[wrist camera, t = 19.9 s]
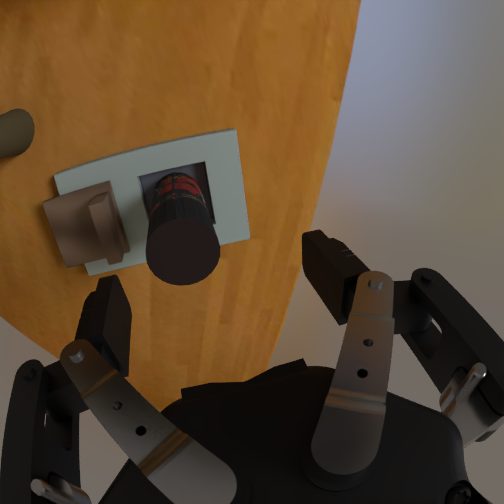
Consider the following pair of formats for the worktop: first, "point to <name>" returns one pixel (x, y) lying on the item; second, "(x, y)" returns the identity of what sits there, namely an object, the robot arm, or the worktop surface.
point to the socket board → (151, 171)
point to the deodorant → (180, 232)
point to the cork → (15, 132)
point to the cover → (87, 225)
